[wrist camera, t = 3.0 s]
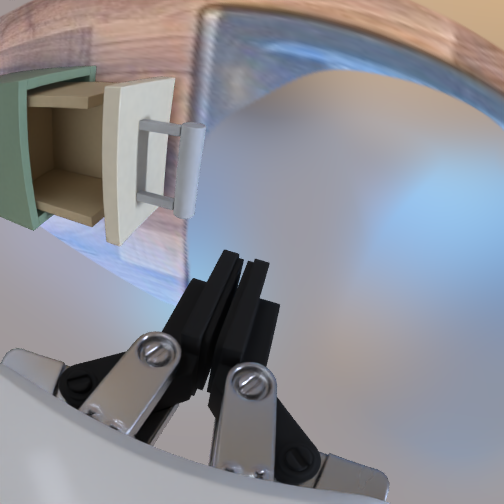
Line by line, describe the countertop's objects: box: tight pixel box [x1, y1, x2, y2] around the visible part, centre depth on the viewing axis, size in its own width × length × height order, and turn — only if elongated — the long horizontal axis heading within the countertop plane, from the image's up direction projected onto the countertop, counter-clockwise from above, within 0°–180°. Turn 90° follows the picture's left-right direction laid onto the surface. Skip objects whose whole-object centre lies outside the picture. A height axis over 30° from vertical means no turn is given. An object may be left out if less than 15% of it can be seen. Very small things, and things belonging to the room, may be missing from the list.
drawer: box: [27, 76, 206, 246], centre depth 19 cm, size 17×10×7 cm, turn 78°
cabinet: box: [0, 66, 96, 231], centre depth 20 cm, size 14×12×9 cm
